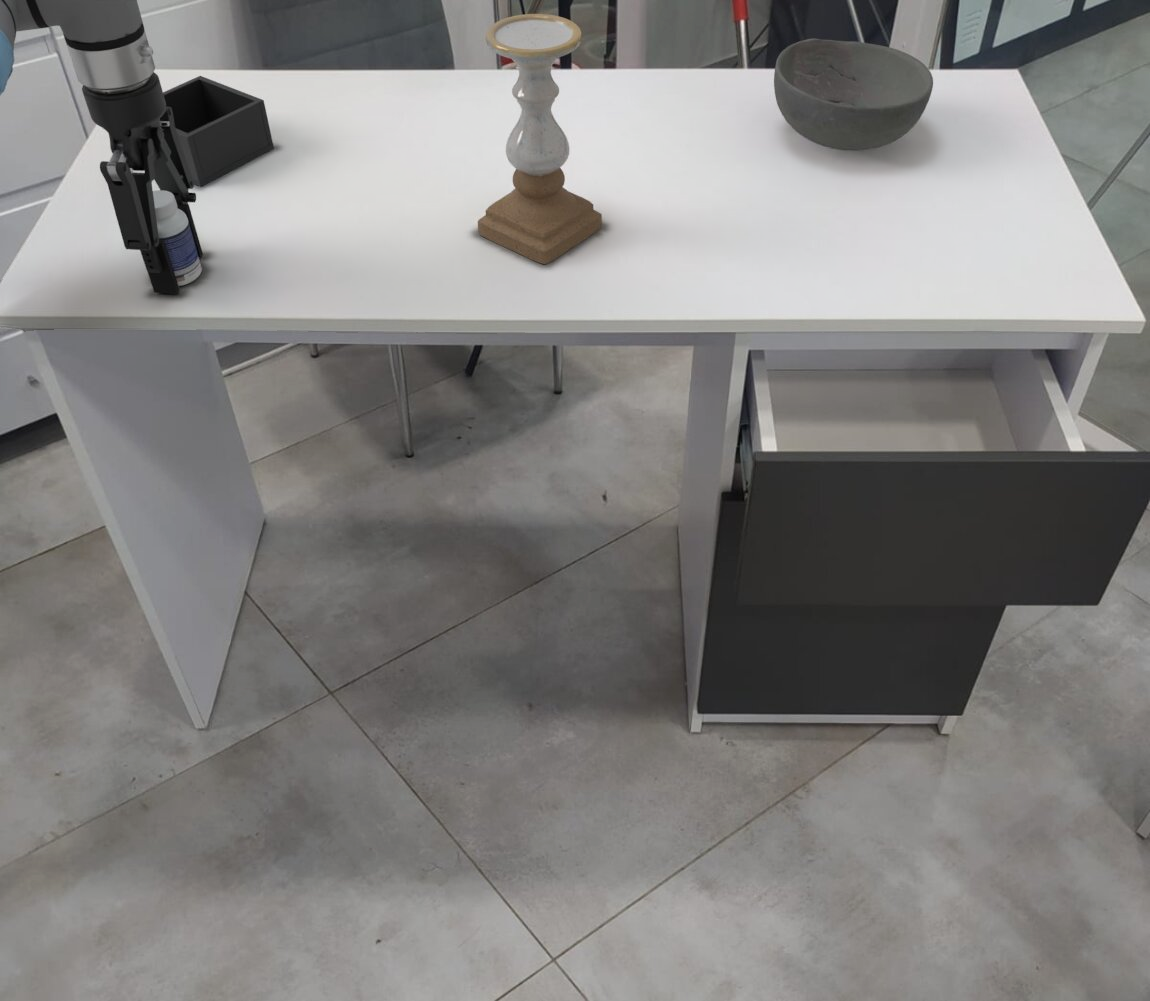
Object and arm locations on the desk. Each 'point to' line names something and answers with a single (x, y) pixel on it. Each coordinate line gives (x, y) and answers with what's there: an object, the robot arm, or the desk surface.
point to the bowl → (850, 92)
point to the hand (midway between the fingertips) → (179, 272)
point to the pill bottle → (176, 237)
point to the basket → (217, 127)
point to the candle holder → (537, 146)
